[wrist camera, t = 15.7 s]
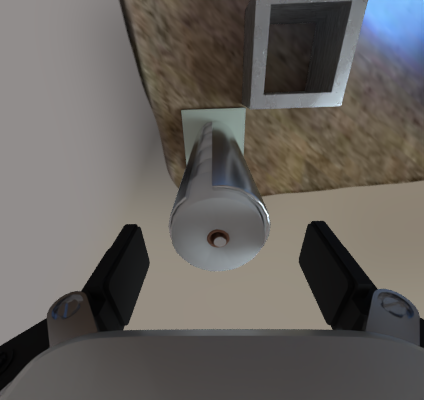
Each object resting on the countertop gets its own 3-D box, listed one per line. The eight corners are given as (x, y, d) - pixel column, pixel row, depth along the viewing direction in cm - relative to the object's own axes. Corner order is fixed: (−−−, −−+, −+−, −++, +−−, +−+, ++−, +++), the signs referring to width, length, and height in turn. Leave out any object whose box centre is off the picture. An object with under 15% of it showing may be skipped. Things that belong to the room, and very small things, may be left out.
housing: (245, 10, 26) (257, -17, 19) (330, 7, 26) (373, -22, 19) (241, 104, 32) (250, 109, 25) (312, 101, 32) (340, 106, 25)
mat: (181, 109, 32) (181, 110, 31) (244, 107, 32) (245, 107, 31) (187, 169, 37) (187, 170, 36) (242, 167, 37) (242, 169, 36)
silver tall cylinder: (194, 158, 35) (165, 275, 13) (197, 118, 32) (164, 187, 10) (231, 162, 36) (261, 282, 14) (237, 123, 32) (289, 200, 11)
